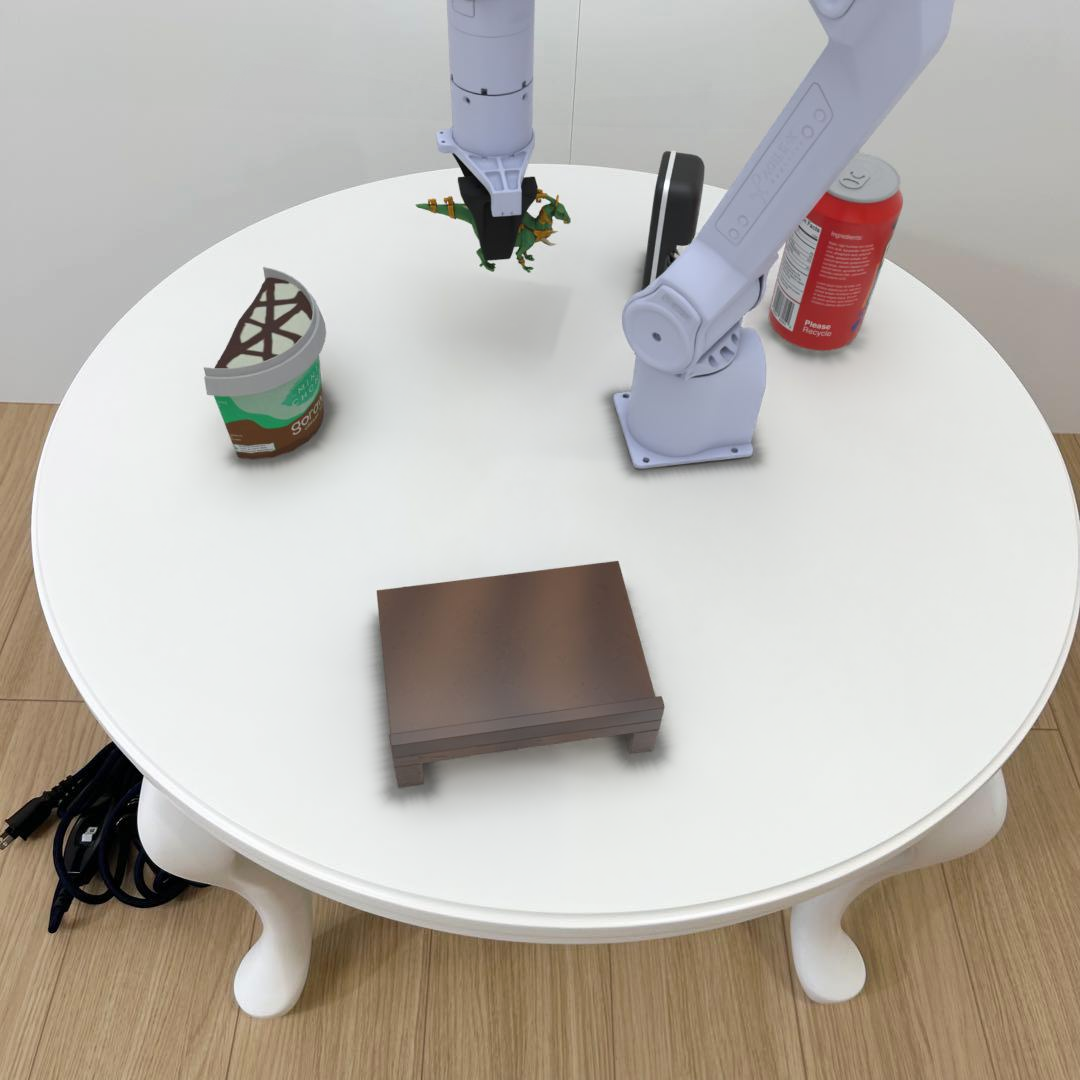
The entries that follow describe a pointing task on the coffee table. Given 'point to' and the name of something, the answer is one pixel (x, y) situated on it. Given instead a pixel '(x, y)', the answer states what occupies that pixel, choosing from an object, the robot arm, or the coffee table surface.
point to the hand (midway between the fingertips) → (493, 241)
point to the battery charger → (673, 211)
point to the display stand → (513, 665)
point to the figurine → (528, 230)
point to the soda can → (837, 257)
